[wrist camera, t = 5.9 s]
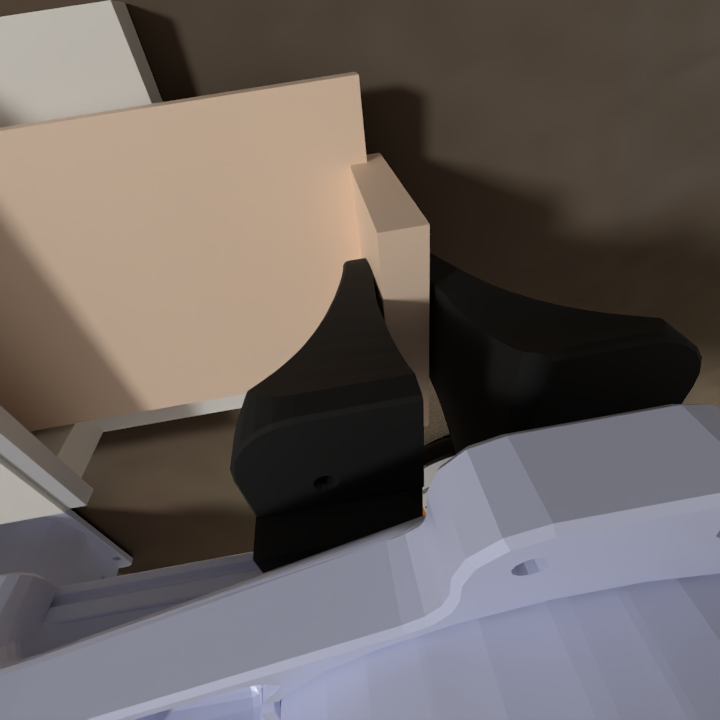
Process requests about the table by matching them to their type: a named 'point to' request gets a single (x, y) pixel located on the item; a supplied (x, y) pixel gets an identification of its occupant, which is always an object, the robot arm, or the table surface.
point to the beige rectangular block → (194, 248)
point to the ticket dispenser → (46, 102)
